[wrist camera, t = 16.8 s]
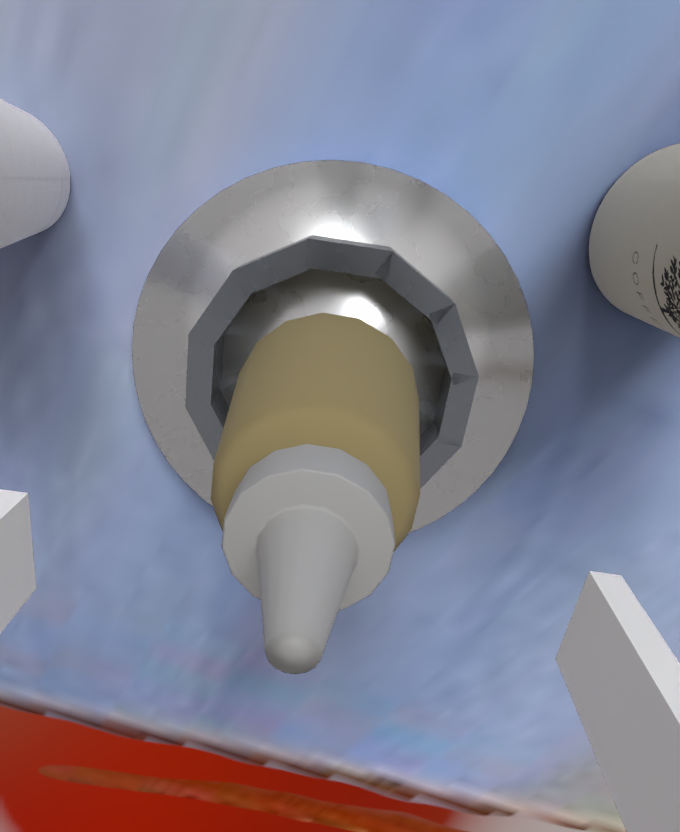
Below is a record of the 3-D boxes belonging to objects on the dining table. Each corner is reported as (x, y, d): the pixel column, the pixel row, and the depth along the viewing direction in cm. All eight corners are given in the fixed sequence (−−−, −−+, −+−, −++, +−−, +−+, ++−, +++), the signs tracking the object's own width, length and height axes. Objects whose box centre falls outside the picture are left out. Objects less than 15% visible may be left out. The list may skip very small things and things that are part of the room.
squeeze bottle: (257, 452, 30) (133, 786, 13) (242, 299, 27) (55, 482, 10) (410, 448, 30) (480, 786, 13) (412, 293, 27) (507, 473, 10)
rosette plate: (145, 129, 26) (114, 121, 22) (574, 197, 26) (605, 198, 23) (140, 506, 33) (116, 540, 30) (475, 552, 34) (487, 591, 30)
